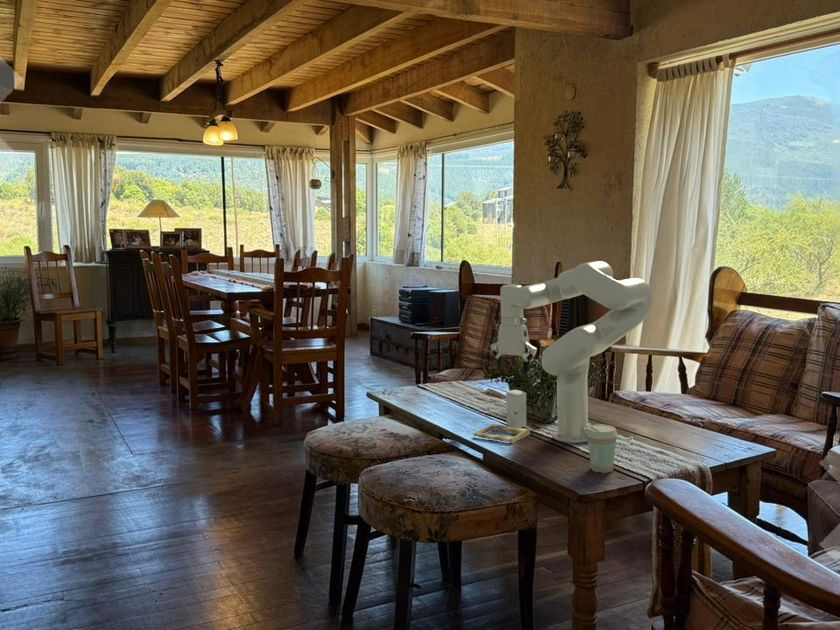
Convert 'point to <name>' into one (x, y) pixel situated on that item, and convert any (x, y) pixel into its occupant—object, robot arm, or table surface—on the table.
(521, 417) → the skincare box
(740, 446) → the table surface
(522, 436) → the gold picture frame
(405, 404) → the table surface
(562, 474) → the table surface
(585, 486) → the table surface
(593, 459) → the coffee cup
